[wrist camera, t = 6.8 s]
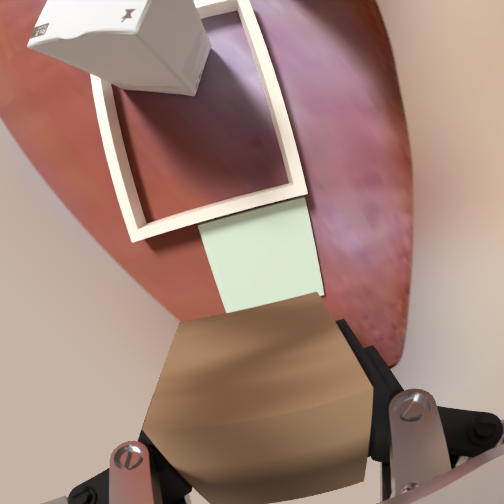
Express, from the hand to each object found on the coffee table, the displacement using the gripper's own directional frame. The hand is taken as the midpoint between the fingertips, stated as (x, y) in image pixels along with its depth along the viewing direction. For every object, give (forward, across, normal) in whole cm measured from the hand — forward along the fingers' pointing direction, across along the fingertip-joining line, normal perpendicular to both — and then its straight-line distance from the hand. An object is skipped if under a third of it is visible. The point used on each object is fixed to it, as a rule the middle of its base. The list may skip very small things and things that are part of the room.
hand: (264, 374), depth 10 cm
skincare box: (+18, +4, -19) cm, 27 cm away
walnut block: (+1, 0, 0) cm, 1 cm away
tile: (+18, -1, +2) cm, 18 cm away
